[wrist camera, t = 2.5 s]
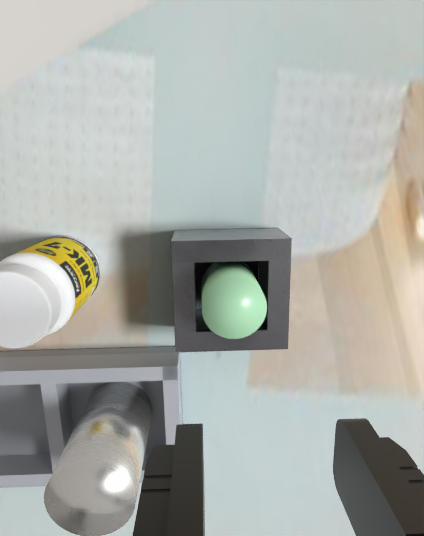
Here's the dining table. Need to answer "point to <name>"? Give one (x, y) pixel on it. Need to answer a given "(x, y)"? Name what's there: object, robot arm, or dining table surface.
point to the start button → (232, 300)
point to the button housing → (229, 250)
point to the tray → (75, 402)
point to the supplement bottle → (44, 288)
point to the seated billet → (101, 462)
